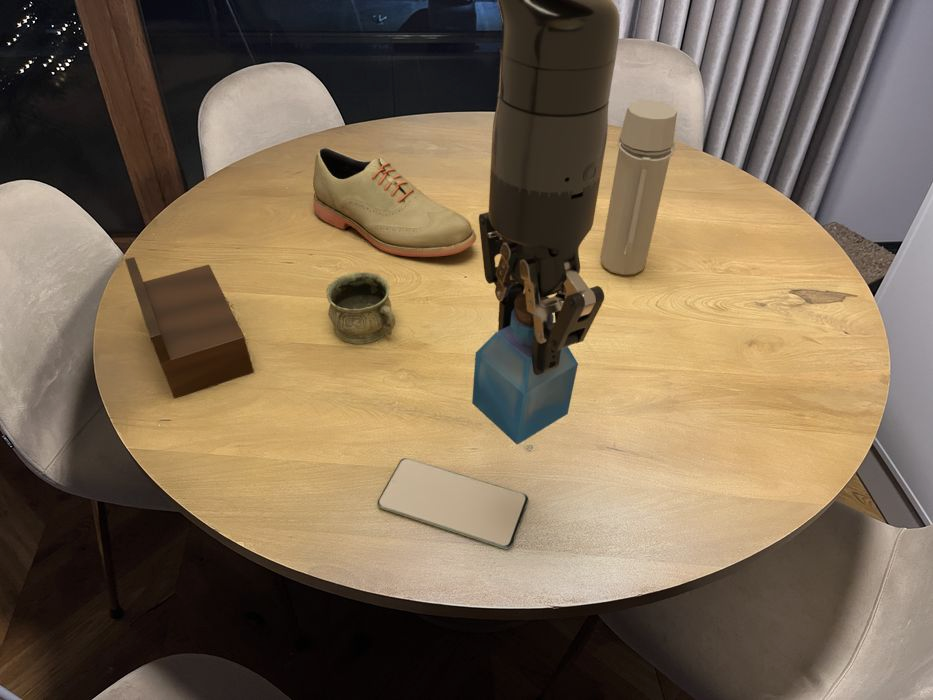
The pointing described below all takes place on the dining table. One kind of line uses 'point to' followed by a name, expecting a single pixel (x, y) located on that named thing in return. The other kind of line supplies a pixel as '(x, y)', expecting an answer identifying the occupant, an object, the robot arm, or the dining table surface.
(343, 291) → the vessel
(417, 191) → the oxford shoe
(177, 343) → the wooden display stand
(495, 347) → the perfume bottle
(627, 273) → the water bottle
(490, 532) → the smartphone
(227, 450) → the dining table surface
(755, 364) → the dining table surface
